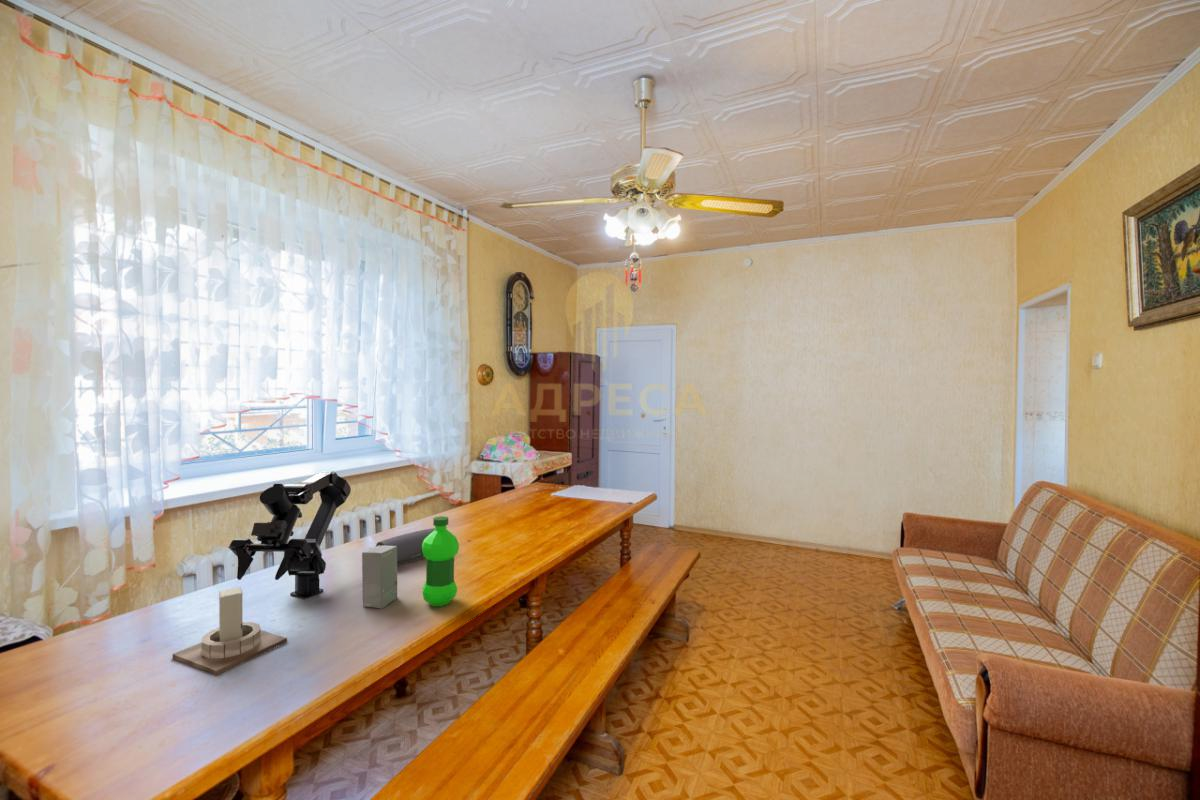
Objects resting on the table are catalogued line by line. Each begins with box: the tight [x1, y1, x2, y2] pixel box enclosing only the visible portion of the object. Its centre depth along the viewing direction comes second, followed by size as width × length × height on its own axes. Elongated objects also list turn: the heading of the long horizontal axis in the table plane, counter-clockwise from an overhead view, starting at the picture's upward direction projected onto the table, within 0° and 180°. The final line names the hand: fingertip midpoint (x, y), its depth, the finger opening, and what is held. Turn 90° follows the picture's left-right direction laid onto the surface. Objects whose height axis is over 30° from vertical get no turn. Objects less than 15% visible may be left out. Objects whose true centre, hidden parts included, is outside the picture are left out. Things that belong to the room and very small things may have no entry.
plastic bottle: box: [422, 516, 460, 607], centre depth 149 cm, size 10×10×25 cm
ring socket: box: [172, 621, 288, 676], centre depth 121 cm, size 16×16×4 cm
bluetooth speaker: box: [375, 527, 435, 566], centre depth 185 cm, size 23×9×10 cm, turn 144°
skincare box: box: [361, 545, 398, 609], centre depth 149 cm, size 8×7×16 cm
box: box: [218, 586, 243, 642], centre depth 121 cm, size 5×4×13 cm
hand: (257, 579), depth 129 cm, fingers open, 9 cm apart
